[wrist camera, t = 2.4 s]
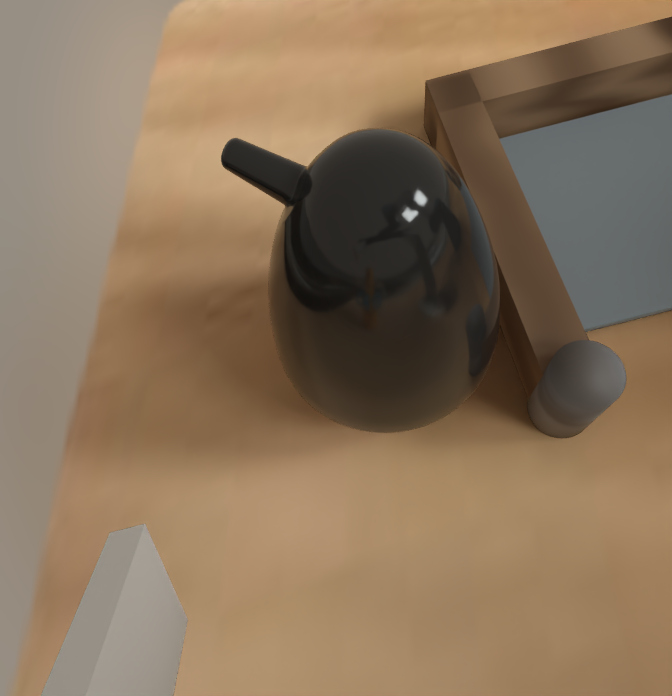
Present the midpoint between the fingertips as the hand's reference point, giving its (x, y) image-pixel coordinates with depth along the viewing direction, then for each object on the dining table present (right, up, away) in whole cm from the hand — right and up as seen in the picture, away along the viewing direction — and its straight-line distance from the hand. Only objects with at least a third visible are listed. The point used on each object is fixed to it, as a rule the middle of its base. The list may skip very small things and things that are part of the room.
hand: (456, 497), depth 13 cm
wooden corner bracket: (+14, +10, +20) cm, 26 cm away
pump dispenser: (0, +3, +19) cm, 19 cm away
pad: (+14, +11, +20) cm, 27 cm away
